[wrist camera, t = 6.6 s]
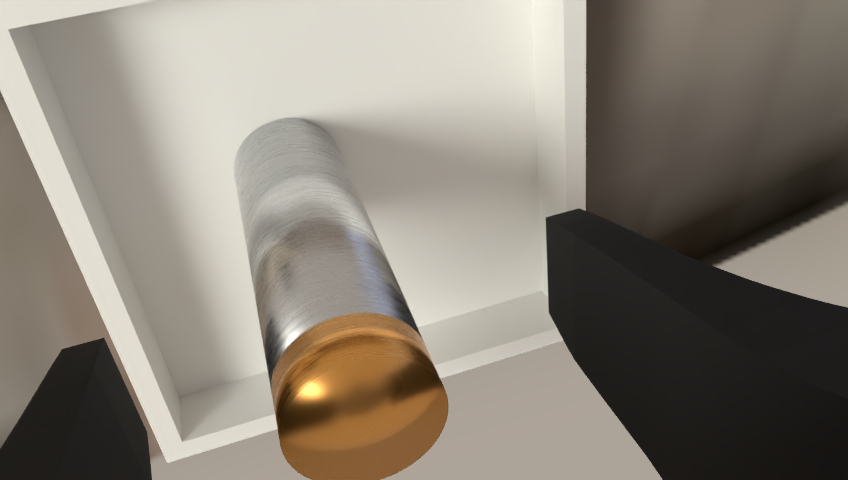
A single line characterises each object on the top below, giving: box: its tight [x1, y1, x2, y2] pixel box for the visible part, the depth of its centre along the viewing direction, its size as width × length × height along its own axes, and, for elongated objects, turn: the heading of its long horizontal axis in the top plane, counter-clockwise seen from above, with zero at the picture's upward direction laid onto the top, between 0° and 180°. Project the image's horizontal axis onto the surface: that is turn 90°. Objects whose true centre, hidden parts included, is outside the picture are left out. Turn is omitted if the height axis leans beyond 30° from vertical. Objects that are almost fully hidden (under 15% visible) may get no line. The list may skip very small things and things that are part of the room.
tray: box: [0, 0, 586, 463], centre depth 17 cm, size 11×11×2 cm
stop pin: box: [234, 119, 448, 480], centre depth 14 cm, size 2×2×8 cm
